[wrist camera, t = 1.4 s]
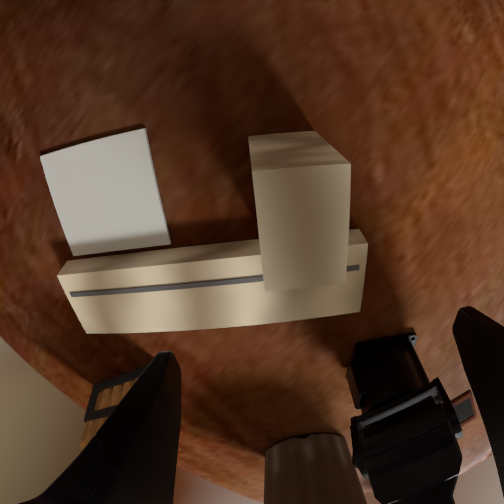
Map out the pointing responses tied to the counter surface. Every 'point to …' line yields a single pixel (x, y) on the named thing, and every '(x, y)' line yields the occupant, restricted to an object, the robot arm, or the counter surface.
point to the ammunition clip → (106, 401)
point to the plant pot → (311, 472)
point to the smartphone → (464, 407)
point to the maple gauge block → (300, 209)
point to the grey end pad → (107, 194)
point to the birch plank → (200, 289)
